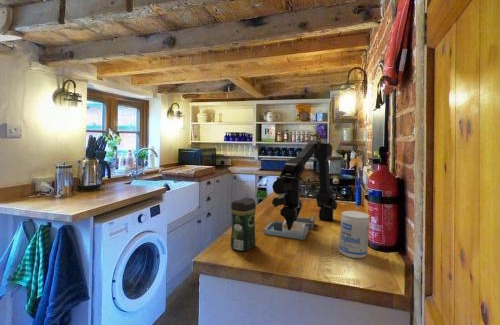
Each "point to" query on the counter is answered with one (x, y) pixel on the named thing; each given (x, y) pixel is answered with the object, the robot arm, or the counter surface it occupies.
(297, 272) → the counter surface
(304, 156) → the robot arm
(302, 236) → the tray
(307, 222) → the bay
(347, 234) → the supplement tub
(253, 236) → the coffee jar
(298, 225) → the white open-front box
